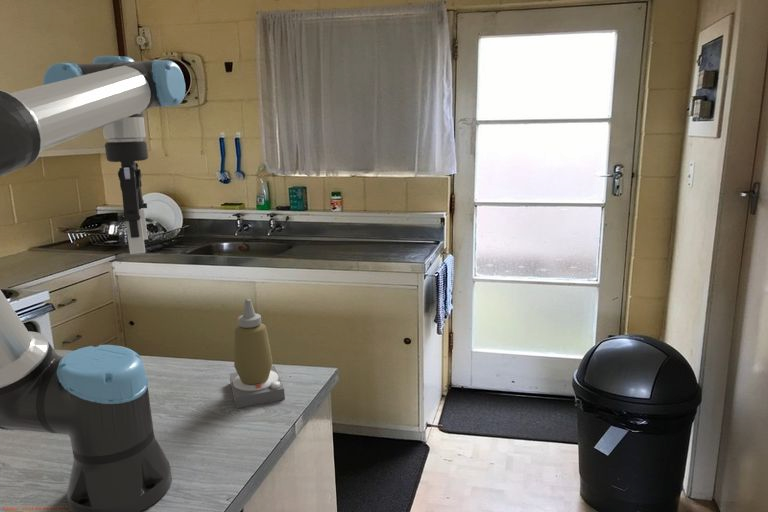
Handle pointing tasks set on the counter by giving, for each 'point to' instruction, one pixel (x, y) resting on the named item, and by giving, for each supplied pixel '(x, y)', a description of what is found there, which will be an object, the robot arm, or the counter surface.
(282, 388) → the white dome on base
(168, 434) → the counter surface
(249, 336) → the squeeze bottle
